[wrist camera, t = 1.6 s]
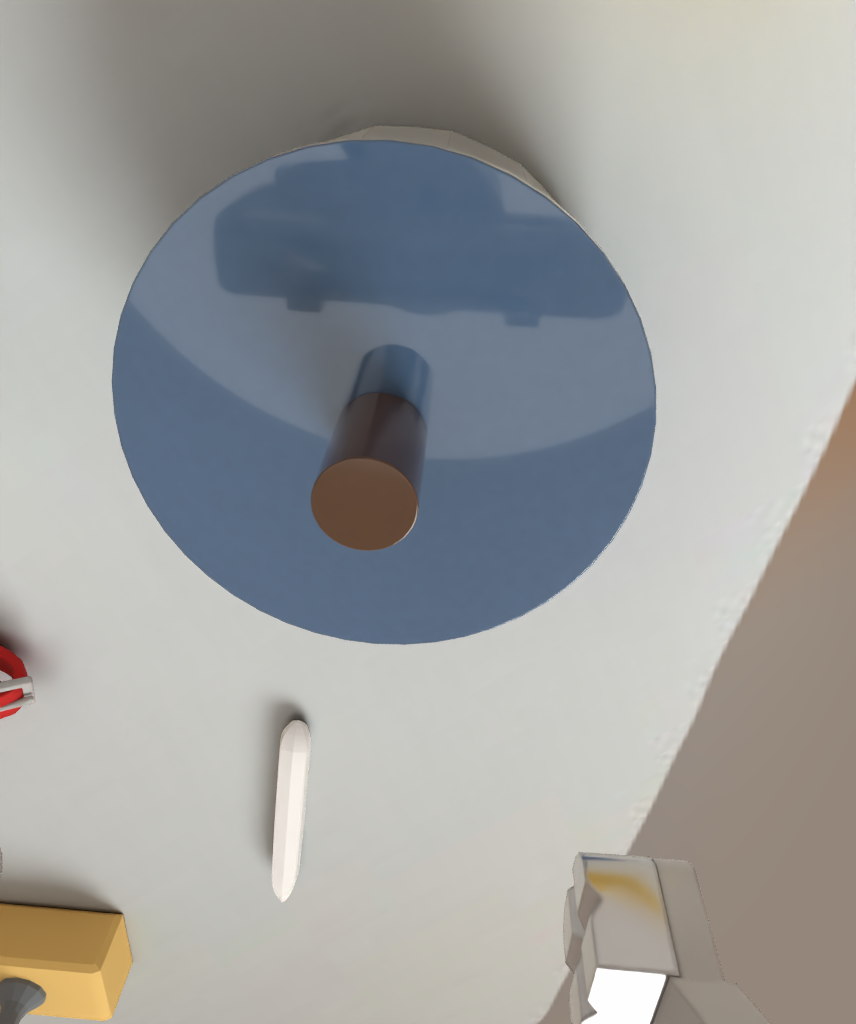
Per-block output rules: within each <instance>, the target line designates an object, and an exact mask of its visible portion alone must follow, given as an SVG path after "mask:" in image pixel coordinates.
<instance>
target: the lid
mask: <svg viewBox="0 0 856 1024" xmlns="http://www.w3.org/2000/svg"><path fill="white" fill-rule="evenodd" d="M112 390H113V402H114V414H115V419H116V424H117V428H118V433H119V437H120V442H121V446H122V449H123V452H124V455H125V457H126V460H127V463H128V466H129V468H130V471H131V474H132V477H133V479H134V481H135V482H136V484H137V486H138V488H139V490H140V492H141V494H142V496H143V498H144V500H145V502H146V504H147V506H148V507H149V509H150V510H151V512H152V513H153V515H154V516H155V517H156V519H157V520H158V522H159V523H160V525H161V526H162V528H163V529H164V531H165V532H166V533H167V534H168V536H169V537H170V538H171V539H172V540H173V541H174V542H175V544H176V545H177V546H178V547H179V548H180V549H181V551H182V552H183V553H184V554H185V555H186V556H187V557H188V558H189V559H190V560H191V561H192V562H193V563H194V564H195V565H197V566H198V567H199V568H200V569H201V570H202V571H203V572H204V573H205V574H206V575H207V576H209V577H210V578H211V579H213V580H214V581H215V582H217V583H218V584H219V585H221V586H222V587H223V588H225V589H226V590H227V591H229V592H230V593H231V594H233V595H234V596H236V597H238V598H239V599H241V600H243V601H244V602H246V603H248V604H249V605H251V606H253V607H254V608H256V609H258V610H260V611H262V612H264V613H266V614H268V615H270V616H273V617H275V618H277V619H279V620H281V621H283V622H286V623H288V624H291V625H294V626H297V627H300V628H303V629H306V630H308V631H311V632H314V633H318V634H322V635H327V636H331V637H335V638H339V639H344V640H350V641H358V642H366V643H373V644H403V645H406V644H419V643H432V642H439V641H445V640H450V639H456V638H461V637H466V636H469V635H472V634H476V633H479V632H483V631H486V630H489V629H493V628H495V627H498V626H500V625H502V624H505V623H507V622H509V621H512V620H514V619H517V618H519V617H521V616H523V615H525V614H526V613H528V612H530V611H532V610H534V609H535V608H537V607H539V606H541V605H542V604H544V603H546V602H548V601H549V600H550V599H552V598H553V597H554V596H556V595H557V594H559V593H560V592H561V591H563V590H564V589H565V588H567V587H568V586H569V585H571V584H572V583H573V582H574V581H575V580H576V579H577V578H578V577H579V576H580V575H582V574H583V573H584V572H585V571H586V570H587V569H588V568H589V567H590V566H591V565H592V564H593V563H594V562H595V561H596V560H597V558H598V557H599V556H600V555H601V554H602V552H603V551H604V550H605V549H606V547H607V546H608V545H609V544H610V543H611V541H612V540H613V539H614V537H615V535H616V534H617V532H618V531H619V529H620V528H621V526H622V524H623V523H624V521H625V520H626V518H627V516H628V515H629V513H630V511H631V509H632V506H633V504H634V502H635V500H636V498H637V495H638V493H639V491H640V489H641V487H642V484H643V481H644V477H645V474H646V470H647V467H648V464H649V460H650V457H651V453H652V446H653V439H654V432H655V425H656V384H655V377H654V370H653V363H652V356H651V351H650V348H649V345H648V341H647V338H646V335H645V331H644V328H643V325H642V321H641V318H640V316H639V314H638V312H637V310H636V307H635V305H634V303H633V301H632V299H631V297H630V295H629V292H628V290H627V288H626V286H625V284H624V282H623V281H622V279H621V278H620V276H619V275H618V273H617V271H616V270H615V268H614V267H613V265H612V264H611V262H610V261H609V259H608V258H607V256H606V255H605V253H604V252H603V250H602V249H601V247H600V246H599V245H598V244H597V243H596V242H595V241H594V239H593V238H592V237H591V236H590V235H589V234H588V233H587V232H586V230H585V229H584V228H583V227H582V226H581V225H580V224H579V222H578V221H577V220H576V219H575V218H574V217H572V216H571V215H570V214H569V213H568V212H567V211H565V210H564V209H563V208H562V207H561V206H559V205H558V204H557V203H556V202H555V201H554V200H552V199H551V198H550V197H549V196H548V195H547V194H545V193H544V192H542V191H541V190H539V189H537V188H536V187H534V186H533V185H531V184H530V183H528V182H526V181H525V180H523V179H522V178H520V177H519V176H517V175H515V174H514V173H512V172H510V171H508V170H506V169H504V168H502V167H499V166H497V165H495V164H493V163H490V162H488V161H486V160H484V159H482V158H479V157H477V156H475V155H472V154H469V153H465V152H462V151H458V150H455V149H452V148H448V147H445V146H441V145H438V144H434V143H428V142H421V141H414V140H407V139H400V138H393V137H388V138H345V139H339V140H332V141H325V142H319V143H312V144H308V145H305V146H302V147H298V148H295V149H292V150H288V151H285V152H282V153H279V154H275V155H272V156H270V157H268V158H266V159H264V160H262V161H260V162H258V163H255V164H253V165H251V166H249V167H247V168H245V169H243V170H241V171H239V172H237V173H235V174H233V175H232V176H230V177H229V178H227V179H226V180H224V181H223V182H221V183H220V184H218V185H217V186H216V187H214V188H213V189H211V190H210V191H208V192H207V193H205V194H204V195H202V196H201V197H200V198H199V199H197V200H196V201H195V202H194V203H193V204H192V205H191V206H190V207H189V208H188V209H187V210H186V211H185V212H184V213H183V214H181V215H180V216H179V217H178V218H177V219H176V220H175V221H174V222H173V223H172V224H171V226H170V227H169V228H168V229H167V231H166V232H165V233H164V234H163V236H162V237H161V238H160V240H159V241H158V242H157V243H156V245H155V246H154V247H153V249H152V250H151V251H150V253H149V255H148V256H147V258H146V260H145V262H144V263H143V265H142V267H141V269H140V271H139V272H138V274H137V276H136V278H135V280H134V281H133V284H132V286H131V289H130V292H129V294H128V297H127V300H126V302H125V305H124V308H123V310H122V313H121V316H120V321H119V326H118V331H117V336H116V340H115V345H114V354H113V371H112Z"/></svg>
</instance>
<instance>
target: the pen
mask: <svg viewBox="0 0 856 1024" xmlns="http://www.w3.org/2000/svg"><path fill="white" fill-rule="evenodd" d="M310 752H311V736H310V732H309V729H308V726H307V725H306V724H305V723H304V722H302V721H299V720H293V721H292V722H290V723H289V724H288V725H287V726H286V727H285V729H284V730H283V732H282V735H281V740H280V753H279V765H278V780H277V795H276V809H275V824H274V842H273V859H272V885H273V889H274V892H275V894H276V895H277V897H278V898H279V899H280V900H281V902H284V901H285V900H286V899H287V898H288V897H289V895H290V893H291V891H292V889H293V887H294V884H295V882H296V879H297V877H298V873H299V868H300V859H301V849H302V839H303V829H304V818H305V807H306V796H307V785H308V774H309V763H310Z"/></svg>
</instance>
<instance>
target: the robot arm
mask: <svg viewBox="0 0 856 1024" xmlns="http://www.w3.org/2000/svg"><path fill="white" fill-rule="evenodd" d="M1 873H2V852H1V849H0V876H1ZM573 878H574V886H573V887H571V888H570V889H568V891H567V896H566V902H565V908H564V923H563V933H564V951H565V963H566V964H567V966H568V967H569V968H570V970H571V971H572V972H573V973H574V978H573V982H572V986H571V990H570V994H569V1002H570V1003H569V1004H570V1013H571V1023H572V1024H772V1023H771V1022H770V1021H769V1019H768V1018H767V1017H766V1016H765V1015H764V1014H763V1013H762V1011H761V1010H760V1009H759V1008H758V1007H757V1006H756V1005H755V1003H754V1002H753V1001H752V1000H751V999H750V998H749V997H748V995H747V994H746V993H745V992H744V991H743V990H742V989H741V987H740V986H739V985H738V984H737V983H732V982H725V979H724V976H723V972H722V968H721V964H720V961H719V957H718V953H717V949H716V946H715V942H714V938H713V935H712V931H711V927H710V924H709V920H708V917H707V913H706V909H705V905H704V901H703V898H702V894H701V890H700V886H699V883H698V879H697V875H696V872H695V869H694V867H693V866H692V864H691V863H690V862H689V861H684V860H669V859H654V858H653V859H651V858H650V857H643V856H628V855H613V854H598V853H583V852H579V853H578V854H577V855H576V857H575V861H574V865H573Z"/></svg>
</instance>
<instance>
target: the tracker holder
mask: <svg viewBox="0 0 856 1024" xmlns="http://www.w3.org/2000/svg"><path fill="white" fill-rule="evenodd" d="M0 670H1V671H3V672H5V673H7V674H8V675H10V676H11V677H12V678H13V679H12V680H9V681H4V682H1V681H0V719H1V718H4V717H7V716H10V715H13V714H15V713H16V712H17V711H18V710H19V709H20V708H21V707H22V706H26V705H31V704H34V703H35V701H36V700H35V694H34V689H33V683H32V678H31V677H30V676H28V675H27V672H26V669H25V667H24V664H23V662H22V661H21V659H20V658H18V657H17V656H16V655H15V654H14V653H13V652H11V651H10V650H8V649H6V648H4V647H2V646H0Z"/></svg>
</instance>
